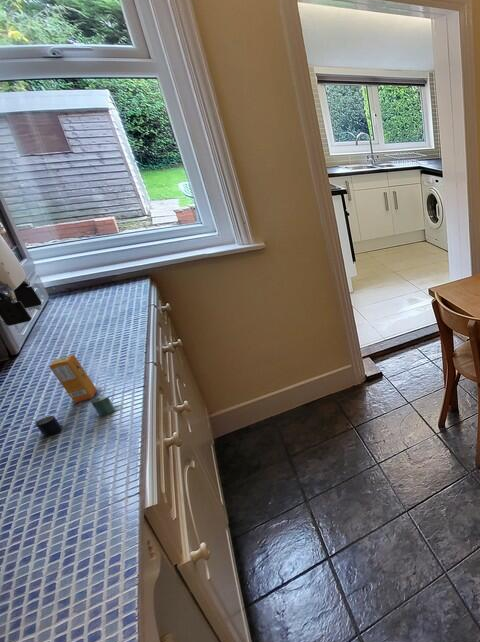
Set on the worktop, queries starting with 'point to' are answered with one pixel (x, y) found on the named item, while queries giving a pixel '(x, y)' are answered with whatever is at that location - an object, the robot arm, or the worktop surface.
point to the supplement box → (73, 378)
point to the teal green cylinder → (102, 405)
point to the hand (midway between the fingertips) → (26, 314)
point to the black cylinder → (48, 426)
